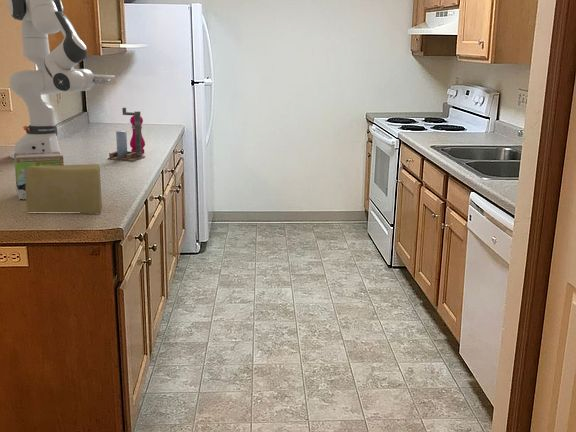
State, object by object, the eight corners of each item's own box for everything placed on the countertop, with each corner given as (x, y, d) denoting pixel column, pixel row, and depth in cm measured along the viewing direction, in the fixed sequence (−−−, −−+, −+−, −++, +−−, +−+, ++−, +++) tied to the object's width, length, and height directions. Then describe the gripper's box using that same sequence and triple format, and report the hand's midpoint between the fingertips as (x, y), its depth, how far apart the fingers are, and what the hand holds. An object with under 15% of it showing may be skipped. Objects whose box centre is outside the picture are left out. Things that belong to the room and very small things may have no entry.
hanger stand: (133, 161, 279) (131, 110, 272) (107, 159, 282) (104, 109, 275) (145, 157, 289) (143, 108, 283) (120, 155, 292) (118, 106, 286)
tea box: (19, 201, 206) (15, 157, 202) (16, 194, 214) (12, 152, 210) (66, 197, 213) (63, 154, 209) (62, 190, 221) (59, 150, 217)
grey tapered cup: (119, 158, 281) (118, 132, 278) (115, 156, 285) (114, 131, 282) (129, 157, 284) (127, 131, 281) (125, 156, 288) (124, 130, 284)
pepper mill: (141, 154, 296) (140, 113, 291) (127, 153, 297) (125, 112, 292) (147, 152, 303) (146, 111, 297) (134, 151, 304) (132, 110, 299)
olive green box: (24, 217, 187) (20, 169, 183) (30, 209, 196) (26, 163, 192) (100, 215, 192) (97, 168, 188) (102, 207, 201) (100, 162, 197)
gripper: (105, 73, 250) (122, 71, 263) (61, 70, 255) (80, 69, 267) (106, 89, 252) (123, 86, 264) (62, 86, 256) (81, 84, 269)
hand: (101, 78), depth 266 cm, fingers open, 8 cm apart
